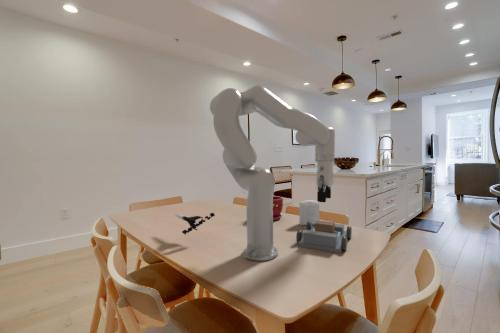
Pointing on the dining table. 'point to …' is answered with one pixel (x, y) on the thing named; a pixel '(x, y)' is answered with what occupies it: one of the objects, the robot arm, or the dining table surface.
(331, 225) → the brown cardboard carton
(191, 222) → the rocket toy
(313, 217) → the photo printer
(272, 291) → the dining table surface
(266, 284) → the dining table surface
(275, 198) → the plant pot
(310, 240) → the chassis
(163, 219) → the dining table surface
